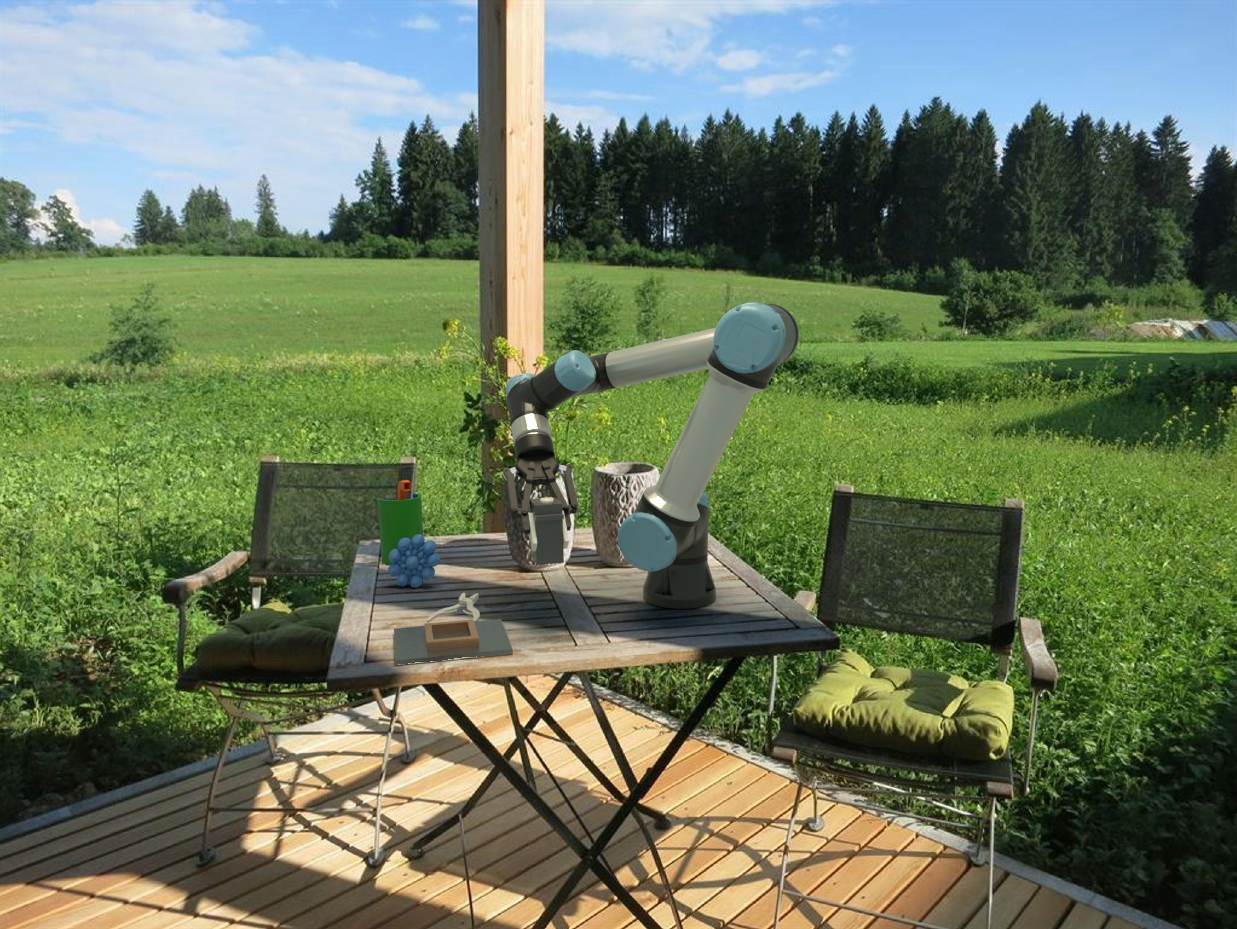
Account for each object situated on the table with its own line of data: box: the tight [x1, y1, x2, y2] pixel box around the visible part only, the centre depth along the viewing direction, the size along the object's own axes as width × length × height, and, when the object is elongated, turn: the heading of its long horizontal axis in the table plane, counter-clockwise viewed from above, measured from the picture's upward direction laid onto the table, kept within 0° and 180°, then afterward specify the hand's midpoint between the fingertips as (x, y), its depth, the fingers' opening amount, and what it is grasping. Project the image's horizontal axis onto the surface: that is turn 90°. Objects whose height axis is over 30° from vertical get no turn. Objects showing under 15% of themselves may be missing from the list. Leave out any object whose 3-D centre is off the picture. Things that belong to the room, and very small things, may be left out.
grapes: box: [387, 534, 441, 589], centre depth 195 cm, size 12×7×12 cm, turn 86°
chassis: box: [393, 618, 514, 667], centre depth 162 cm, size 20×16×2 cm
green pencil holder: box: [377, 479, 424, 566], centre depth 215 cm, size 10×9×20 cm
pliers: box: [426, 592, 481, 623], centre depth 180 cm, size 10×2×15 cm
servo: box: [528, 496, 565, 566], centre depth 164 cm, size 5×8×12 cm, turn 14°
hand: (550, 545), depth 161 cm, fingers closed on servo, 5 cm apart
